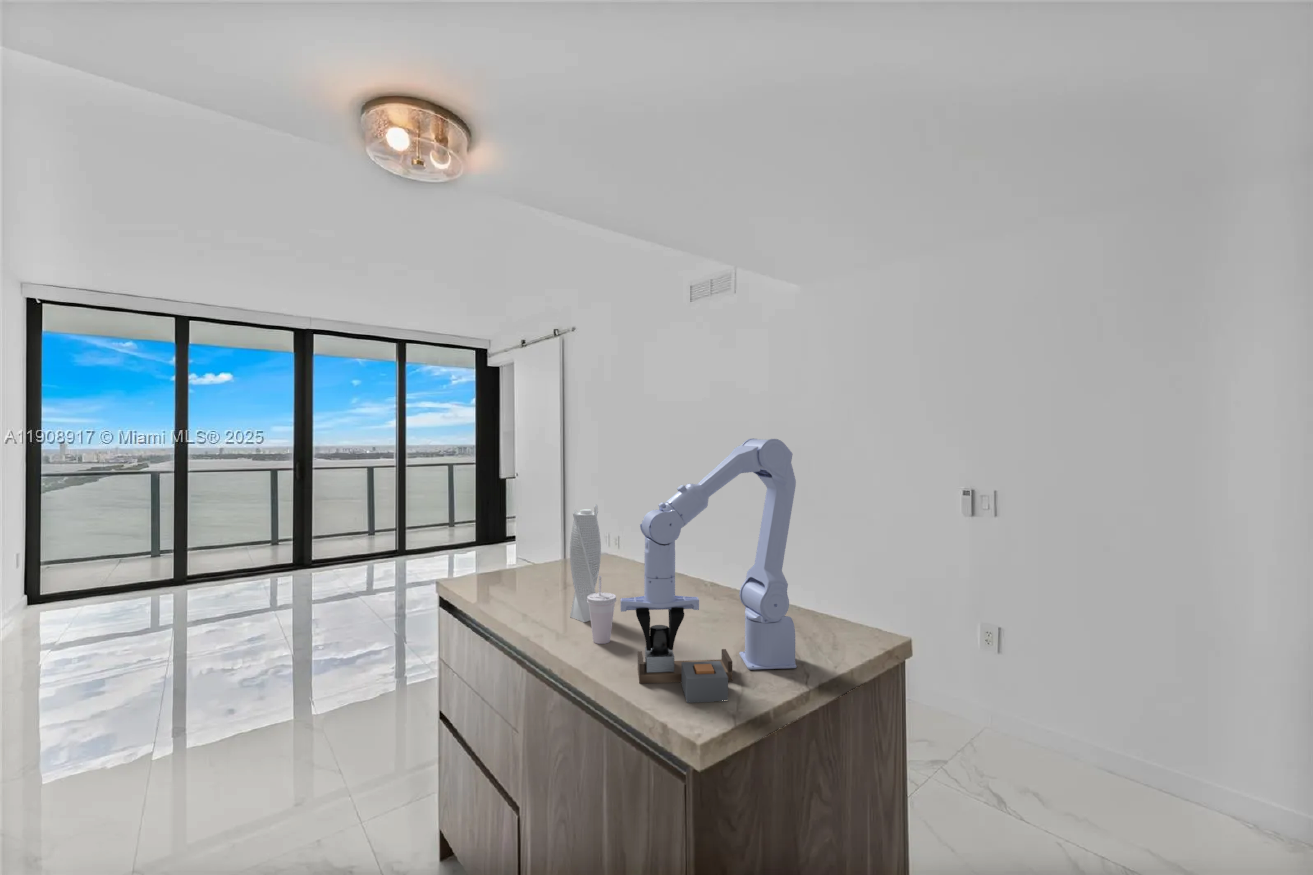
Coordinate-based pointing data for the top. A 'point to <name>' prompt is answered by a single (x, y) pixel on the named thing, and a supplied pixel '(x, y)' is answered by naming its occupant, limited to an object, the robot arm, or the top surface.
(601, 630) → the smoothie
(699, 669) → the button
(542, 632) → the top surface
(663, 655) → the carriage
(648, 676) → the rail
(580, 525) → the skyscraper
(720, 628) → the top surface
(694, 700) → the block
